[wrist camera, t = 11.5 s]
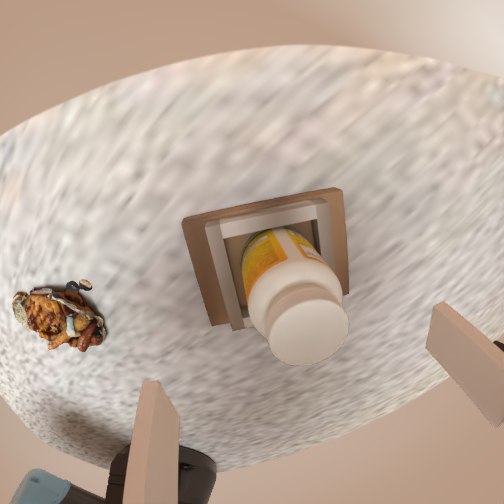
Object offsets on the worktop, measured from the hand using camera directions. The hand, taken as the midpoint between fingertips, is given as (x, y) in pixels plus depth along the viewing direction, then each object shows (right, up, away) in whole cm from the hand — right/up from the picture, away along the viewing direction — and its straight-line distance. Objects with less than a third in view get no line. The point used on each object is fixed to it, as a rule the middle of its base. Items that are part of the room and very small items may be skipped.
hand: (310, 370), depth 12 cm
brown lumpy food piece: (-22, -1, +12) cm, 25 cm away
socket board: (-1, +5, +12) cm, 13 cm away
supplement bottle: (-1, +5, +10) cm, 11 cm away
